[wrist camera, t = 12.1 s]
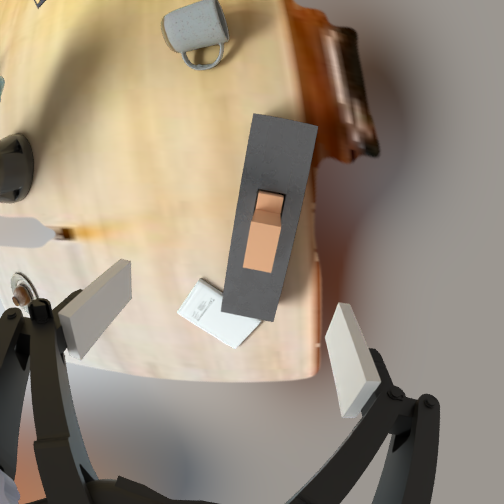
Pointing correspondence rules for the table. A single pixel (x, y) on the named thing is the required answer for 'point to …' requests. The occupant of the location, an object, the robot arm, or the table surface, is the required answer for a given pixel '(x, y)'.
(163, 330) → the table surface
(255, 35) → the table surface
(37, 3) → the dark gray flat slab
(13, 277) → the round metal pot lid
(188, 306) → the external hard drive
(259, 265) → the tan wooden block
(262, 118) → the rail
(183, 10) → the ceramic mug
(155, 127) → the table surface
